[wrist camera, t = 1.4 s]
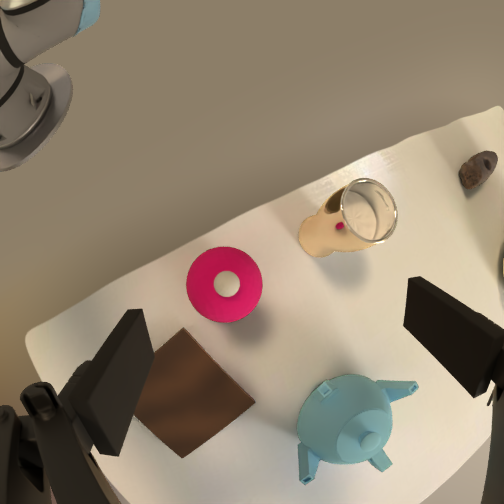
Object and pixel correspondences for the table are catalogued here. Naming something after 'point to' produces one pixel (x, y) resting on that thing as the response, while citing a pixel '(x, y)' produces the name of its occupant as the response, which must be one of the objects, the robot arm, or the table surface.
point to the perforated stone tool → (478, 169)
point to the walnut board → (188, 396)
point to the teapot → (348, 422)
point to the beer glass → (350, 220)
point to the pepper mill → (224, 284)
